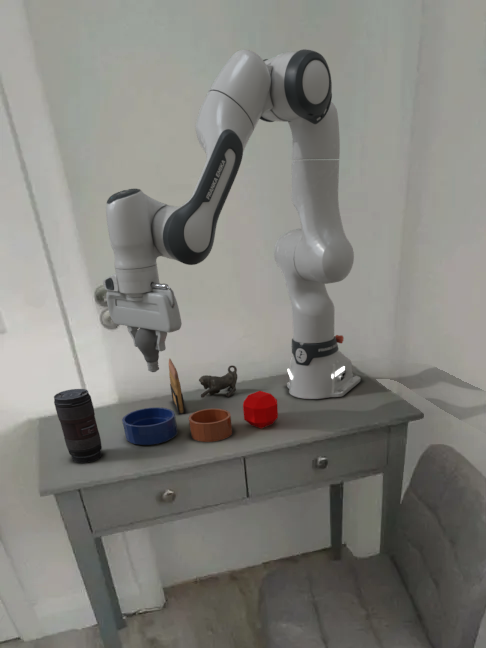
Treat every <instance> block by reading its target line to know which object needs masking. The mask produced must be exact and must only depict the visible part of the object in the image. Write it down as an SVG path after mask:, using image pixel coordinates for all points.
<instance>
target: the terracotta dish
mask: <svg viewBox="0 0 486 648" xmlns="http://www.w3.org/2000/svg"><path fill="white" fill-rule="evenodd" d="M188 425H189V432H190V436H191V438H192V439H193V440H194V441H197V442H202V443H213V442H218V441H222V440H226V439H227V438H229V437H231V435H232V434H233V422H232V414H231V412H230V411H228V410H226V409H223V408H204V409H200V410H197V411H194V412H192V413H191V414H189V416H188Z"/></svg>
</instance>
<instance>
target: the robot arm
mask: <svg viewBox="0 0 486 648" xmlns="http://www.w3.org/2000/svg"><path fill="white" fill-rule="evenodd" d="M332 89H333V83H332V76H331V70H330V67H329V64H328V62H327V59H325V57H324V56H323V55H322V54H321V53H319V52H317V51H315V50H313V49H306V48H305V49H300V50H294V51H293V50H292V51H287V52H286V51H285V52H281V53H279V54H278V55H275V56H273V57H270V58H266V59H263V58H262V57H261V55H259V54H257V53H256V52H254V51H253V50H250V49H245V48H242V49H239V50H237V51H235V52H234V53H233V54H232V55H231V56H230V58H229V59H227V61H226V62H225V64H223V67H222V68H221V70H220V71H219V72H218V74H217V76H216V77H215V79H214V81H213V82H212V84H211V86H210V88H209V90H208V92H207V94H206V95H205V97H204V99H203V101H202V103H201V106H200V108H199V111H198V114H197V117H196V120H195V126H194V127H195V134H196V138H197V141H198V144H199V145H200V147H201V149H202V150H203V152H204V153H205V154H206V158H205V163H204V166H203V168H202V170H201V173H200V175H199V178H198V180H197V182H196V185H195V187H194V189H193V191H192V194H191V195H190V197H189V199H188V200H187V201H186V202H185V203H183V204H182V205H179V206H175V205H170V204H167V203H164V202H161V201H158V200H156V199H154V198H152V197H150V196H149V195H147V194H146V193H145V192H144V191H143V190H142V189H140V188H128V189H124V190H123V189H122V190H121V191H118V192H115V193H113V194H112V195H111V196H109V197H108V198H107V200H106V204H105V215H106V216H105V217H106V226H107V233H108V238H109V244H110V247H111V249H112V251H113V255H114V271H115V273H113V274H111V275H110V276H108V277H105V278H104V279H103V280H102V286H103V289H104V290H105V291H106V293H105V297H106V304H107V309H108V314H109V317H110V320H111V321H112V323H113V324H114V325H119V326H125V327H127V328H126V329H127V331H128V333H129V335H130V337H131V338H132V340H133V346H134V347H135V348H136V347H137V345H136V342H135V336H136V333H137V331H138V330H139V329H140V328H144V329H150V330H155V332H156V335H157V336H158V339H157V342H156V343H155V349H156V350H157V351H159V352H164V351H166V339H167V337H168V333H170V334H171V333H174V332H177V331H180V329H181V328H182V317H181V313H180V308H179V305H178V300H177V298H176V296H175V292H174V290H173V289H172V288H171V287H170V286H169V284H167V283H160V277H159V276H160V275H159V270H158V269H159V268H158V263H157V259H158V258H159V257H163V258H167V259H170V260H174V261H177V262H180V263H181V264H184V265H188V266H195V265H198V264H200V263H202V262H204V261H205V260H206V259H207V258H208V256H209V255H210V253H211V251H212V250H213V246H214V242H215V237H216V230H217V225H218V221H219V218H220V216H221V213H222V210H223V208H224V206H225V204H226V201H227V199H228V196H229V194H230V192H231V189H232V187H233V185H234V183H235V179H236V178H237V175H238V172H239V170H240V167H241V164H242V160H243V155H244V151H245V150H246V147H247V145H248V142H249V140H250V138H251V137H252V135H253V133H254V131H255V130H256V127H257V124H258V122H259V121H263V122H266V123H273V122H276V123H277V122H279V123H286V122H287V123H288V125H289V128H290V132H291V138H292V142H291V144H292V145H291V173H290V174H291V175H290V176H291V178H290V198H291V203H292V205H293V207H294V209H295V210H296V212H297V215H298V218H299V223H300V228H295V229H292V230H288V231H285V232H283V233H282V234H281V235H280V236H279V237H278V239H277V240H276V242H275V245H274V249H273V256H274V257H273V258H274V261H275V264H276V266H277V267H278V269H279V270H280V273H281V274H282V276H283V280H284V283H285V286H286V290H287V294H288V297H289V301H290V307H291V320H292V338H291V344H290V347H291V354H292V355H293V356H291V358H290V362H289V368H287V373H288V376H289V381H288V382H287V383H286V387H287V389H289V390H288V393H289V395H291V396H292V397H295V398H298V399H303V400H320V399H327V398H341V397H345V395H346V394H347V393H348V392H350V391H351V390H352V389H353V388H354V387H356V386H357V385H358V384H359V383H360V382H361V380H362V379H361V377H360V376H359V375H357V374H353V363H352V360H351V359H350V358H349V357H348V356H346V355H345V354H344V353H342V351H340V350H339V345H338V344H343V343H344V339H345V338H344V335H339V334H336V335H335V305H334V302H333V300H332V299H331V297H330V295H329V293H328V291H327V287H326V285H327V284H334V283H339V282H341V281H343V280H345V279H346V278H347V277H348V276H349V274H350V273H351V271H352V269H353V266H354V262H355V261H354V260H355V252H354V248H353V245H352V243H351V242H350V241H349V239H348V238H347V235H346V233H345V230H344V226H343V223H342V217H341V211H340V204H339V203H340V201H339V181H340V180H339V179H340V159H341V158H340V157H341V156H340V153H341V147H340V146H341V138H340V137H341V136H340V124H339V114H338V110H337V107H336V105H335V104H334V103H333V102H332V99H333V93H332ZM137 348H138V347H137Z"/></svg>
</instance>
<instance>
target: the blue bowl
mask: <svg viewBox="0 0 486 648" xmlns="http://www.w3.org/2000/svg"><path fill="white" fill-rule="evenodd" d="M121 422H122V426H123V431H124V437H125V439H126V441H127V442H129V443H130V444H134V445H139V446H151V445H152V446H153V445H158V444H162V443H165V442H167V441H170V440H172V439H173V438H175V437H176V436H177V435H178V433H179V430H178V424H177V417H176V413H175V411H174V410H173V409H171V408H167V407H160V406H159V407H158V406H157V407H154V406H153V407H145V408H139V409H136V410H133V411H131V412H128V413H127V414H126V415H124V416H123V417H122V418H121Z"/></svg>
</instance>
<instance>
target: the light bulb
mask: <svg viewBox="0 0 486 648" xmlns="http://www.w3.org/2000/svg"><path fill="white" fill-rule="evenodd" d="M137 330H138V331H137V333H136V336H135V342H136V345H137V349H138V350H139V352H141V354H142V355H143V358H144V360H145V362H146V365H147V371H148V372H151V373H156V372H157V371H159V370H160V367H159V366H160V365H159V358H160V355H159V354H160V351H157V350H156V349H155V343H156V342H157V339H158V336H157V335H156V332H155V330H150V329H144V328H139V329H137Z"/></svg>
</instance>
